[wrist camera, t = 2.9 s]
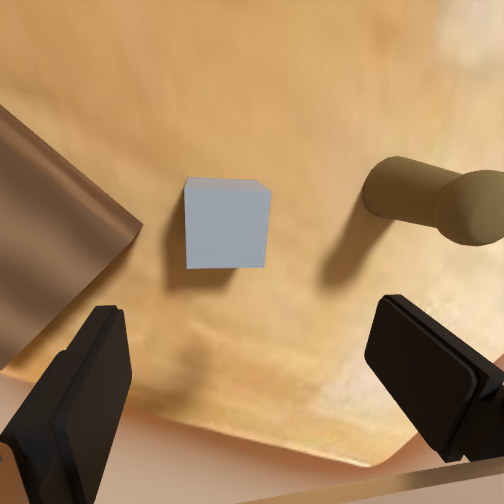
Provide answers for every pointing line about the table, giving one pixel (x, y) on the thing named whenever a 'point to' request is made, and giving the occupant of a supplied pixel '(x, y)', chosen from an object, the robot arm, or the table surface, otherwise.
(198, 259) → the blue cube
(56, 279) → the walnut block
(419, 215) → the cork
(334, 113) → the table surface
